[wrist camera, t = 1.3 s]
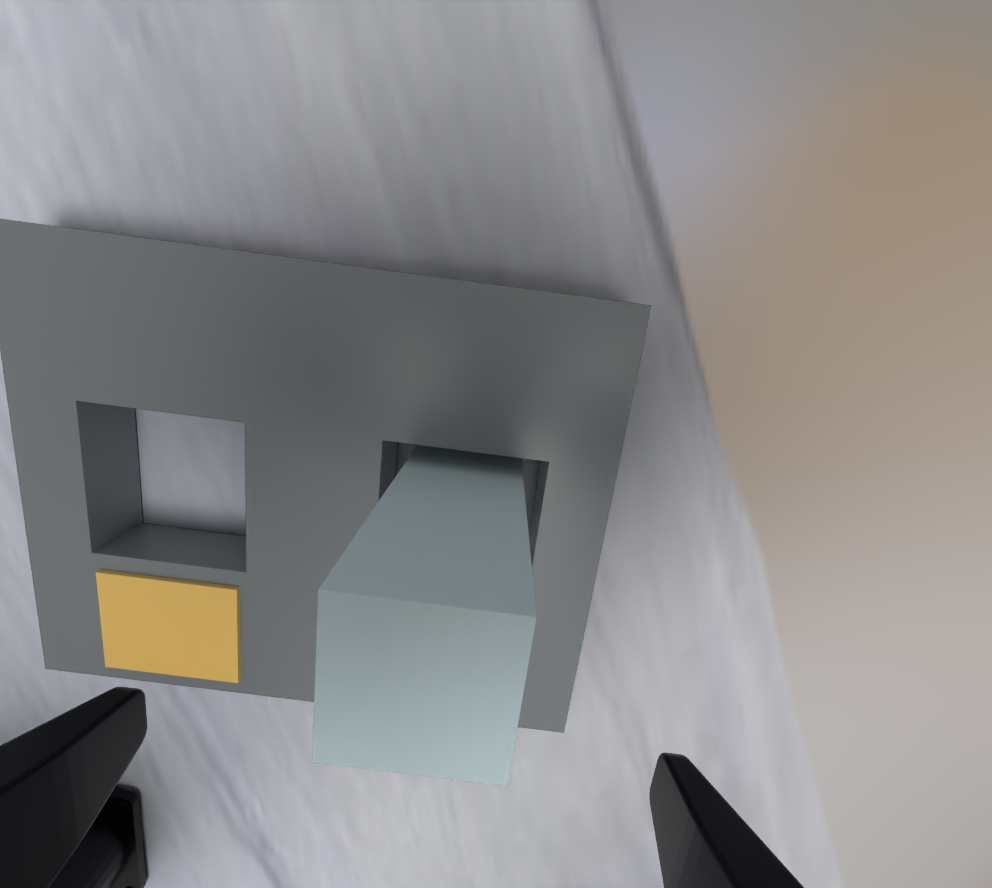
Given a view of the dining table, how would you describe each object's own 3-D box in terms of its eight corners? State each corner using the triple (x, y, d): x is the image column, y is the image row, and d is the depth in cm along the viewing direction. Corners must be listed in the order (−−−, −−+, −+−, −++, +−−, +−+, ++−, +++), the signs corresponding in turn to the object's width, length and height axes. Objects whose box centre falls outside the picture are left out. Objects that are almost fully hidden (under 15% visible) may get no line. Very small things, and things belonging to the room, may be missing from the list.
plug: (507, 552, 20) (507, 786, 10) (409, 539, 19) (312, 762, 10) (521, 458, 18) (536, 616, 9) (417, 444, 18) (318, 589, 9)
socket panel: (557, 684, 21) (564, 737, 18) (99, 627, 21) (40, 672, 18) (630, 306, 17) (652, 305, 14) (57, 230, 17) (-27, 215, 14)
